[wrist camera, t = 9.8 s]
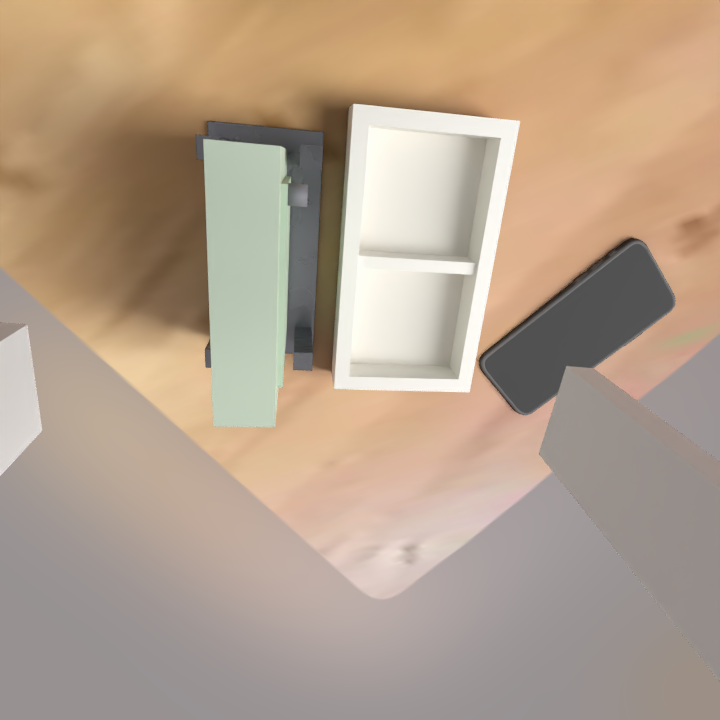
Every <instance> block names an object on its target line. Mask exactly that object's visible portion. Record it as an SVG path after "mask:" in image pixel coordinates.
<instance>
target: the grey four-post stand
mask: <svg viewBox="0 0 720 720" xmlns="http://www.w3.org/2000/svg"><path fill="white" fill-rule="evenodd" d="M203 139H210V140H220V141H231V142H242V143H253V144H263V145H274V146H281V147H283V148H286V149H287V176H291V183H294V184H306V185H308V199H307V207H299V206H290V233H289V268H288V303H287V333H286V347H285V353H289V354H294V362H293V370H310V371H312V363H313V338H314V318H315V297H316V276H317V255H318V235H319V214H320V193H321V173H322V157H323V132H316V131H306V130H295V129H285V128H275V127H264V126H254V125H243V124H233V123H222V122H212V121H208V136H206V135H196V152H197V160H204V146H203ZM205 363H206V368H211V345H210V340H209V342H208V344H207V346H206V348H205Z"/></svg>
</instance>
